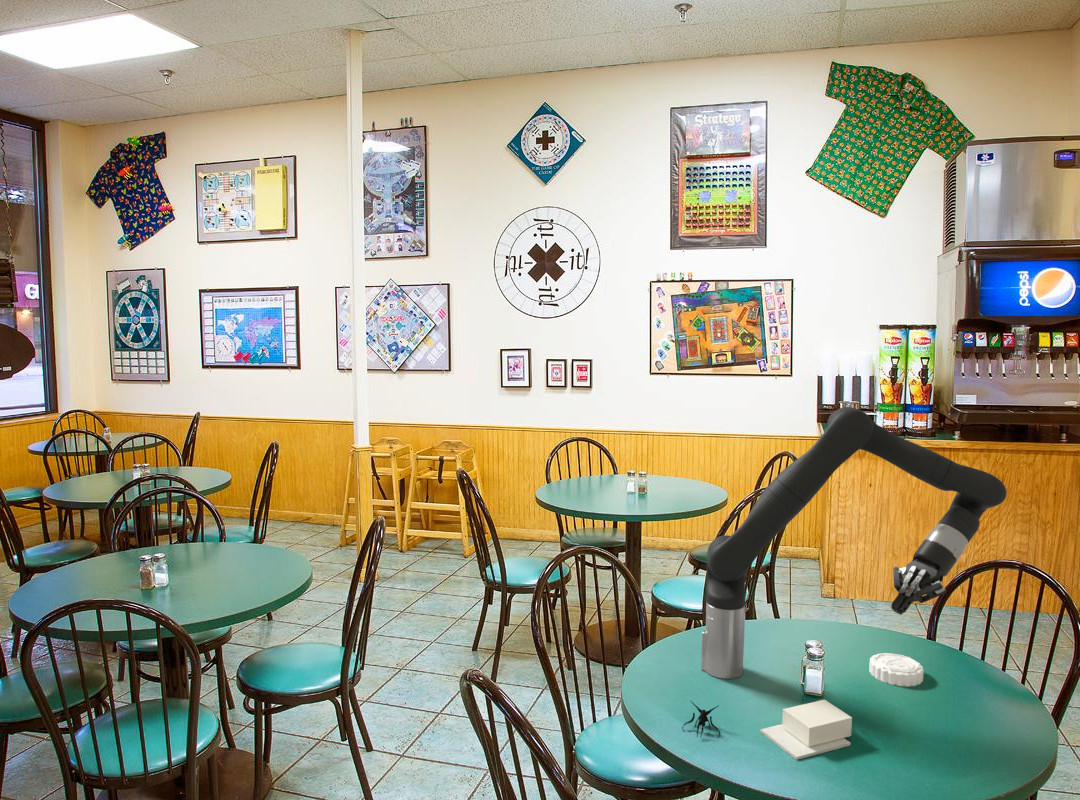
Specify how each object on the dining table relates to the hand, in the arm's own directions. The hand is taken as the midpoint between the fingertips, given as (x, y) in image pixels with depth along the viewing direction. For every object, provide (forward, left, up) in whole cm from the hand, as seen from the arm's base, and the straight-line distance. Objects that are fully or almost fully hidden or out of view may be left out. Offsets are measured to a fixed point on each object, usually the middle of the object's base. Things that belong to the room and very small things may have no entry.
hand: (896, 611), depth 166 cm
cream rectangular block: (-7, -13, -21) cm, 26 cm away
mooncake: (-4, +22, -24) cm, 33 cm away
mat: (-12, -20, -24) cm, 33 cm away
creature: (-30, -31, -24) cm, 49 cm away
